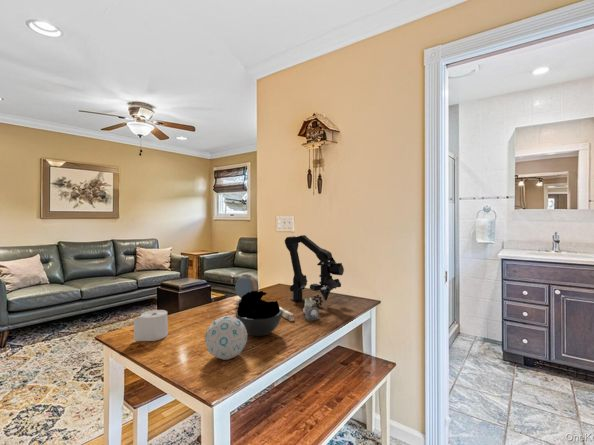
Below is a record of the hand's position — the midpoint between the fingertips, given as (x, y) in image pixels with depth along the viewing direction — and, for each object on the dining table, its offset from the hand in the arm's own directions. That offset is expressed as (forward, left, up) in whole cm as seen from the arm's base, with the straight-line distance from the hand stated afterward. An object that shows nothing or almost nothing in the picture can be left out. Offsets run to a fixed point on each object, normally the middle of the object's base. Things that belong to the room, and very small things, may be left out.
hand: (325, 300), depth 175 cm
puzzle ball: (+31, -69, -3) cm, 76 cm away
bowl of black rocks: (+18, -50, -3) cm, 53 cm away
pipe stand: (+13, -19, -3) cm, 24 cm away
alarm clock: (-28, -37, -3) cm, 47 cm away
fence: (+2, -29, -3) cm, 29 cm away
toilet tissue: (-4, -90, -3) cm, 90 cm away
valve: (0, -9, -3) cm, 10 cm away
